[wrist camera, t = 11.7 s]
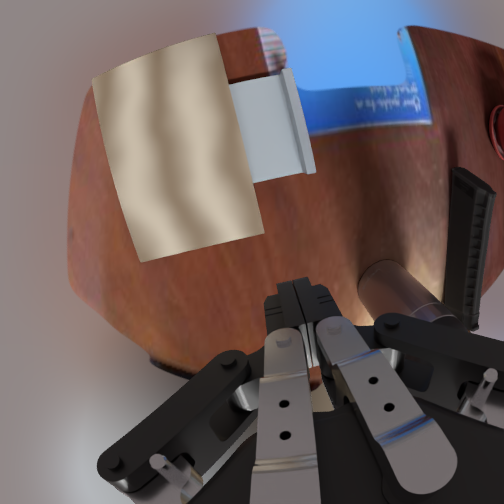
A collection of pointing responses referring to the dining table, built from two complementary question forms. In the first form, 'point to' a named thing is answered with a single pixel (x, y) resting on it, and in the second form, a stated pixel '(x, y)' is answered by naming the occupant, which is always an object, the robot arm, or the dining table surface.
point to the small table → (177, 150)
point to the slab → (273, 126)
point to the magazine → (467, 245)
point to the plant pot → (497, 130)
